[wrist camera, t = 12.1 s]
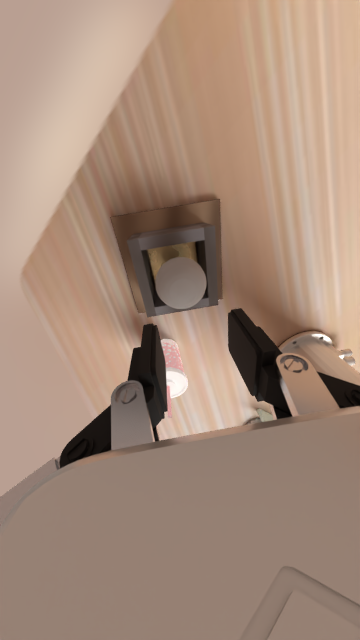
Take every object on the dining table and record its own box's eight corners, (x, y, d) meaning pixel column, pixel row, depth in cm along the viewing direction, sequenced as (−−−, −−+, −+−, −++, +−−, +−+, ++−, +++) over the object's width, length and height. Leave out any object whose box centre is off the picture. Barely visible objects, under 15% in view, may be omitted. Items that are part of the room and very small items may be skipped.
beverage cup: (152, 333, 34) (148, 400, 22) (184, 337, 35) (198, 402, 23) (148, 358, 37) (143, 429, 25) (178, 361, 38) (187, 430, 26)
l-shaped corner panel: (258, 408, 50) (273, 437, 43) (284, 420, 54) (301, 449, 48) (227, 430, 54) (236, 460, 48) (254, 440, 59) (265, 469, 52)
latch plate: (193, 236, 26) (194, 237, 25) (197, 280, 29) (198, 283, 28) (147, 244, 26) (146, 245, 25) (156, 287, 29) (156, 290, 28)
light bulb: (147, 264, 26) (142, 291, 17) (178, 236, 25) (188, 251, 16) (173, 291, 28) (180, 327, 20) (202, 267, 27) (222, 295, 18)
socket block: (217, 199, 25) (236, 196, 19) (220, 296, 32) (235, 316, 26) (111, 216, 24) (96, 219, 18) (139, 310, 32) (134, 334, 26)
